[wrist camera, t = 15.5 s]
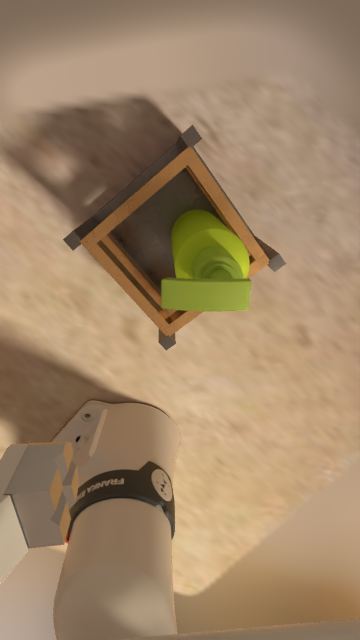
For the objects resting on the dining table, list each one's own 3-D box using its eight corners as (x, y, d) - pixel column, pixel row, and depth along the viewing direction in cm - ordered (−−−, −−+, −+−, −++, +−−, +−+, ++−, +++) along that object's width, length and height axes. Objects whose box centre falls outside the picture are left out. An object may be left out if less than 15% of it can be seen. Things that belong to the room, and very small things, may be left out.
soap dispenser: (161, 209, 38) (161, 247, 19) (224, 210, 38) (283, 248, 20) (161, 262, 40) (161, 341, 22) (221, 262, 40) (270, 340, 22)
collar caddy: (165, 312, 44) (166, 350, 34) (86, 222, 39) (62, 239, 30) (257, 242, 41) (285, 263, 31) (184, 135, 36) (192, 124, 27)
